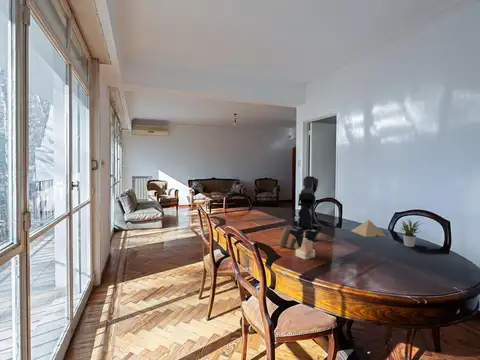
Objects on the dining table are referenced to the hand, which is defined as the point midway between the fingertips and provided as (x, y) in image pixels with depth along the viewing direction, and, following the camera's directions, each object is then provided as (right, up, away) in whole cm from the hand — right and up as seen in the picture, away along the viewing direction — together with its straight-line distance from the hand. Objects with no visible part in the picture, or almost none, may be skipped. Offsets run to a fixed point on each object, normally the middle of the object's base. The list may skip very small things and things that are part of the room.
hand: (305, 245), depth 148 cm
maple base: (0, -6, 0) cm, 6 cm away
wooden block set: (-6, -5, +16) cm, 18 cm away
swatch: (+3, -5, +11) cm, 12 cm away
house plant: (+68, -5, +22) cm, 72 cm away
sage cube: (+1, -5, +17) cm, 17 cm away
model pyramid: (+56, -4, +51) cm, 75 cm away
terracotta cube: (0, -2, 0) cm, 2 cm away
